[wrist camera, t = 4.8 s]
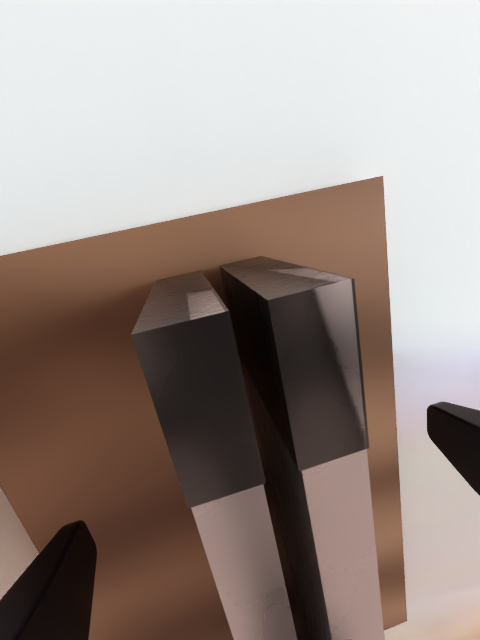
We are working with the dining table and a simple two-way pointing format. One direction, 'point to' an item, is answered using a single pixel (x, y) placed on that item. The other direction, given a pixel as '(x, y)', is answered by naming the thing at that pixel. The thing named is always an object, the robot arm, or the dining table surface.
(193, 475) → the tongs arm
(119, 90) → the dining table surface
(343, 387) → the frame
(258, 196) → the dining table surface
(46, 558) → the robot arm
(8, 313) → the board
